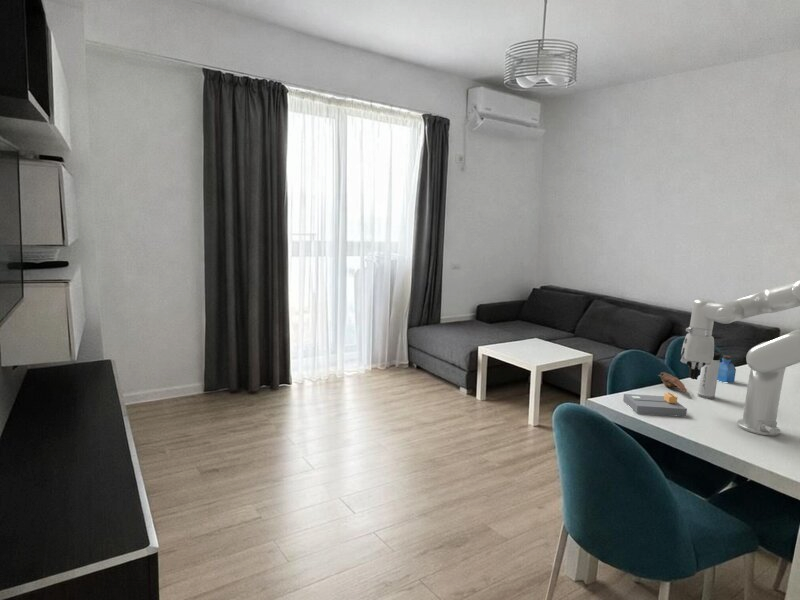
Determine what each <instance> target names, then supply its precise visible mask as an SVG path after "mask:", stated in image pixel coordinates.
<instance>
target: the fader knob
mask: <svg viewBox="0 0 800 600" xmlns="http://www.w3.org/2000/svg"><path fill="white" fill-rule="evenodd" d="M664 400H665V401H667V402H668V403H677V402H678V396H677V395H676V394H674V393H671V392H665V393H664Z"/></svg>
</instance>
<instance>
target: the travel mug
mask: <svg viewBox="0 0 800 600" xmlns="http://www.w3.org/2000/svg"><path fill="white" fill-rule="evenodd" d="M720 362H721V352H719V351H717V350H714V357H713V361H712V362H711V364H710V365H705V366H703V367H702V368H701V369H700V372H699V381H698V389H697V397H700V398H702V397H703V399H706V398H708V399H707V400H714V399H715V398H716V389H717V383H718V381H717V377H718V370H719V363H720Z"/></svg>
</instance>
